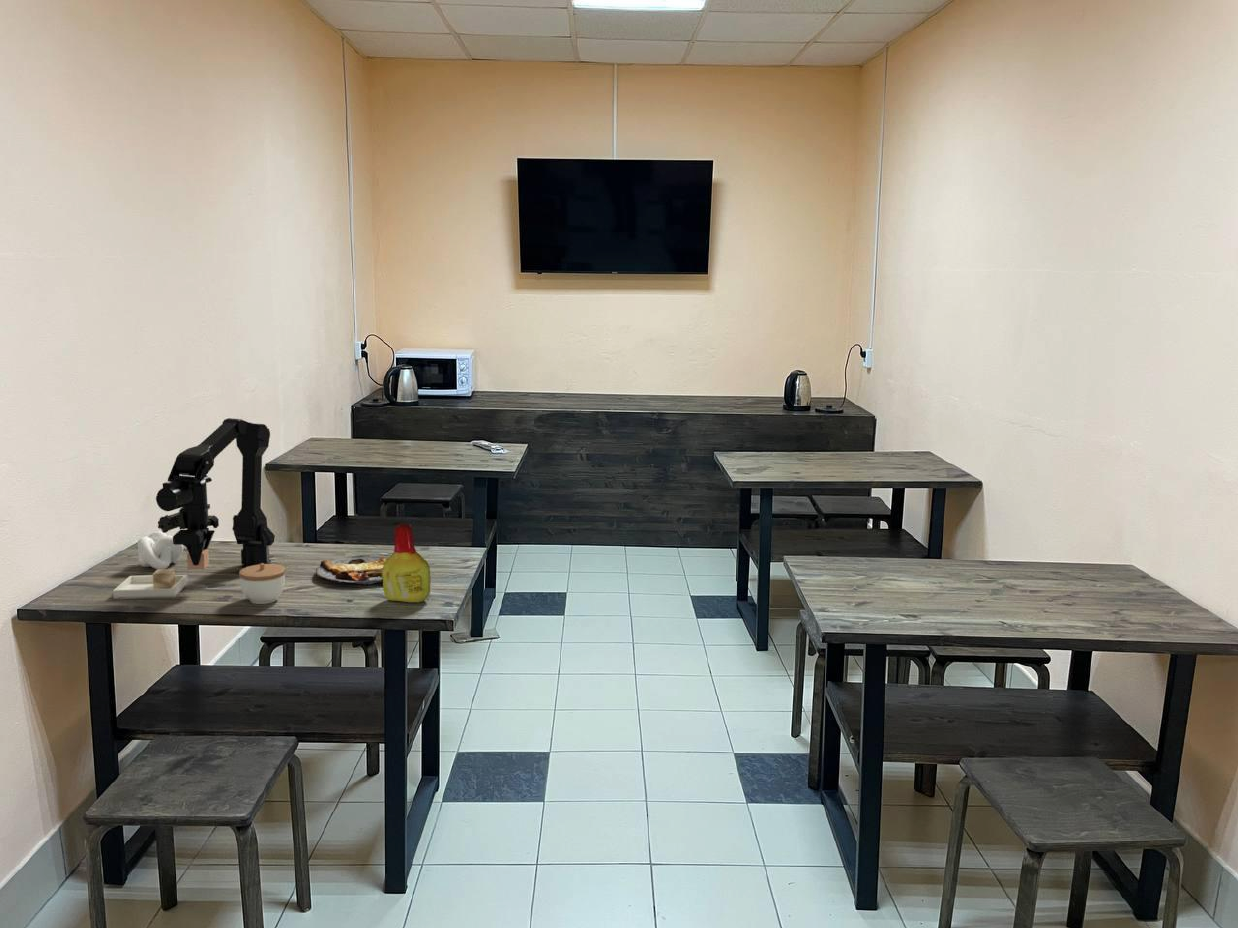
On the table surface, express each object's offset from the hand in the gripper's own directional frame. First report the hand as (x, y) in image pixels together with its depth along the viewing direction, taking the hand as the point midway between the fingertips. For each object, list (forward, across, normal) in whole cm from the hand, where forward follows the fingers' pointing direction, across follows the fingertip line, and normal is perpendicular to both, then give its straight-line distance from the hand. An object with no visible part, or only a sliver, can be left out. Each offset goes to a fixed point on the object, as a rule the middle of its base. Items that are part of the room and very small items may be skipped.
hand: (198, 562), depth 243 cm
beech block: (+7, -3, -9) cm, 12 cm away
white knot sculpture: (+8, -22, -17) cm, 29 cm away
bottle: (+8, +11, +52) cm, 54 cm away
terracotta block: (+1, 0, 0) cm, 1 cm away
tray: (+8, -1, -12) cm, 14 cm away
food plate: (+8, -12, +39) cm, 42 cm away
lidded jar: (+8, +8, +17) cm, 20 cm away
